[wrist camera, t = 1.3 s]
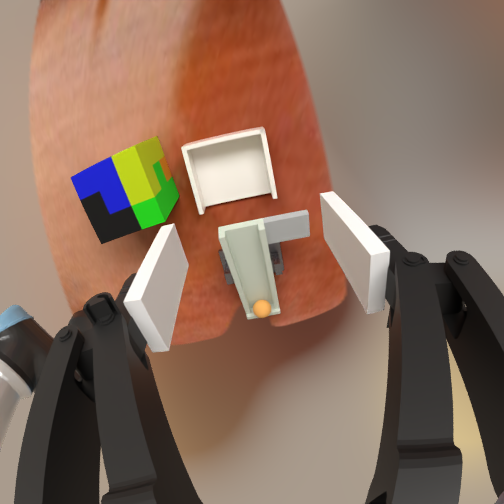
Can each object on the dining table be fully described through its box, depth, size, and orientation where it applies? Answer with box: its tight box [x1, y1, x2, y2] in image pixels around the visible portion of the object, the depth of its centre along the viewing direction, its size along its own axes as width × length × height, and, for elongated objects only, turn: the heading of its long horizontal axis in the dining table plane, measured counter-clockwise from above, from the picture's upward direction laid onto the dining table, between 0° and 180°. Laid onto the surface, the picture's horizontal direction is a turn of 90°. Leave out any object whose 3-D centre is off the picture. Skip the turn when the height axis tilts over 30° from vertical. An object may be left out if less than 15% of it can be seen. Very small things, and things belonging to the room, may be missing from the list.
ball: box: [253, 300, 271, 318], centre depth 48 cm, size 3×3×3 cm
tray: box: [181, 127, 277, 214], centre depth 39 cm, size 11×10×4 cm
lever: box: [218, 210, 310, 319], centre depth 44 cm, size 20×12×3 cm, turn 12°
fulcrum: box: [219, 242, 284, 285], centre depth 46 cm, size 6×10×4 cm, turn 101°
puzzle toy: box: [71, 136, 179, 244], centre depth 36 cm, size 10×10×10 cm
